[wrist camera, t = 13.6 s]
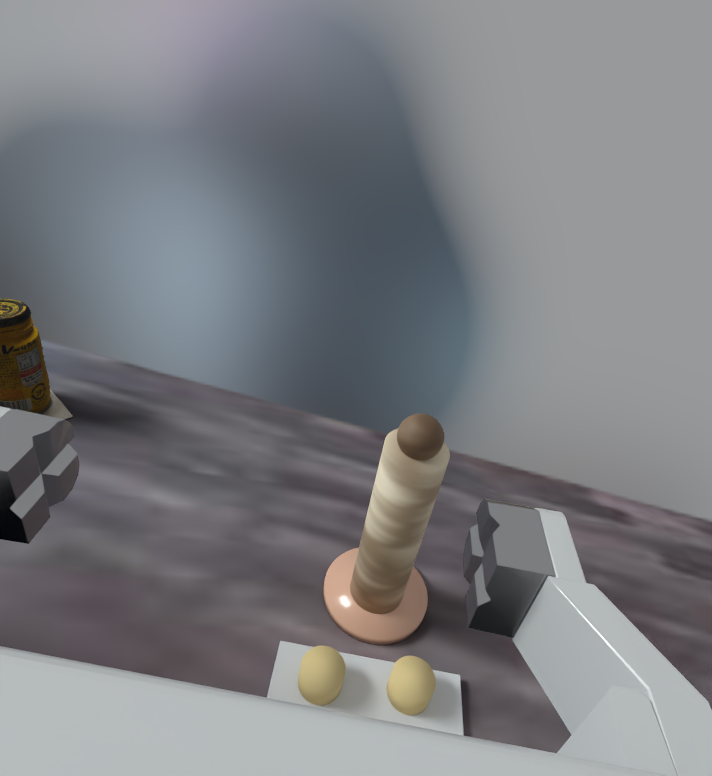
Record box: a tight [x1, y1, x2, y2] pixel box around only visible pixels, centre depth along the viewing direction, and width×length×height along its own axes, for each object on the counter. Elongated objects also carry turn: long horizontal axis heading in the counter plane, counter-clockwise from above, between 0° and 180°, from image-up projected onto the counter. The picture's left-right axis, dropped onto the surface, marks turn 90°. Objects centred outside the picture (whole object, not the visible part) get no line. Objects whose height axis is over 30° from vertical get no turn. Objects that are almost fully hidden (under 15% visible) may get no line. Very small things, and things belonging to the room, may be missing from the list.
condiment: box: [0, 299, 73, 419], centre depth 55 cm, size 7×8×12 cm
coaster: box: [323, 548, 428, 645], centre depth 45 cm, size 9×9×1 cm
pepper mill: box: [350, 414, 450, 614], centre depth 40 cm, size 5×5×19 cm
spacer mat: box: [267, 641, 464, 736], centre depth 33 cm, size 14×16×3 cm
